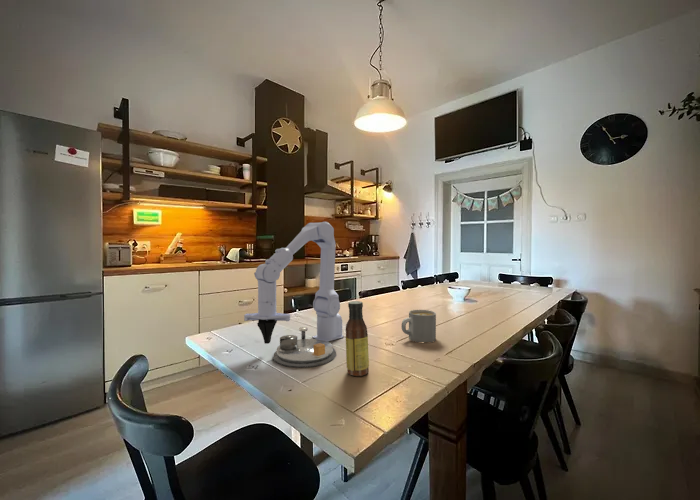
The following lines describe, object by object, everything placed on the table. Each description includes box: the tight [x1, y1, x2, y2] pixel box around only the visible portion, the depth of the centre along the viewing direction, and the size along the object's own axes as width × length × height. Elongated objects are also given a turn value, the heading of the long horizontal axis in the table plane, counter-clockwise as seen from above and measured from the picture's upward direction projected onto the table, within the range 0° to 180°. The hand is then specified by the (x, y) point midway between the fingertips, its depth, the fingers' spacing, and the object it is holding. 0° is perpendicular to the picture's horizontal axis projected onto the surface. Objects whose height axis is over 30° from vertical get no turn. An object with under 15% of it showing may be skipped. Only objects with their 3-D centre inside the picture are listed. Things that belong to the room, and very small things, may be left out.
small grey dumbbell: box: [298, 326, 308, 339], centre depth 112 cm, size 3×3×5 cm
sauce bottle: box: [345, 300, 370, 377], centre depth 86 cm, size 6×6×20 cm
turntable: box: [276, 338, 334, 363], centre depth 100 cm, size 18×18×4 cm
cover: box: [279, 334, 298, 351], centre depth 100 cm, size 6×6×4 cm
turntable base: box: [273, 347, 337, 369], centre depth 100 cm, size 20×20×1 cm
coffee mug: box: [401, 309, 437, 343], centre depth 116 cm, size 13×10×10 cm
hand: (267, 342), depth 100 cm, fingers closed
